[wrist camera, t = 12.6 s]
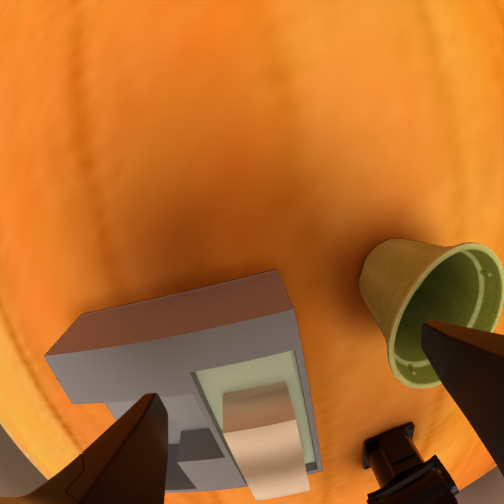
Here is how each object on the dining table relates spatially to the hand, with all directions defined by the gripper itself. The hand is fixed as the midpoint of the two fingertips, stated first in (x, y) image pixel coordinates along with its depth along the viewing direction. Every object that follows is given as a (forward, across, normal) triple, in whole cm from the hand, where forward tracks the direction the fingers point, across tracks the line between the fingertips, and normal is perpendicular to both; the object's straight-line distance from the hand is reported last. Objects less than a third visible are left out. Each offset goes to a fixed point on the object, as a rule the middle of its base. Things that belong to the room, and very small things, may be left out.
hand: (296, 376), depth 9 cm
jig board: (+13, +7, +9) cm, 17 cm away
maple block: (+7, +2, +11) cm, 13 cm away
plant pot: (+13, -10, +4) cm, 17 cm away
